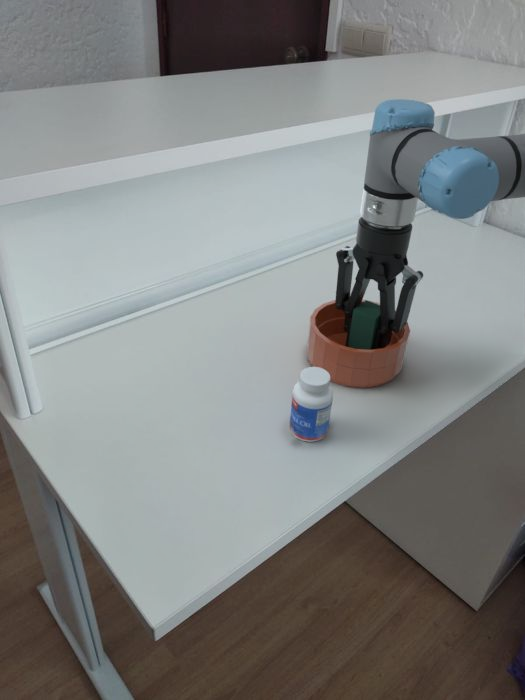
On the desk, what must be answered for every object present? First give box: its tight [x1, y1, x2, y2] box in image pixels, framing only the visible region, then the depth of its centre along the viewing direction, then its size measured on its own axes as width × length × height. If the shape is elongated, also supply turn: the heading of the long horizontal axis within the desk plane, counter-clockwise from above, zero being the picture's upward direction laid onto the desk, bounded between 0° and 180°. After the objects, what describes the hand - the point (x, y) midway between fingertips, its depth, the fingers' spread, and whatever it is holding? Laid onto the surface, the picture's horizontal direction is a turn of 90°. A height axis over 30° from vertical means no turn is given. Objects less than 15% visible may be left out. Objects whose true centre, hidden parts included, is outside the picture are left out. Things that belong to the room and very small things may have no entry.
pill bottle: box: [289, 366, 334, 443], centre depth 78 cm, size 6×5×10 cm
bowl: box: [306, 298, 411, 389], centre depth 94 cm, size 16×16×7 cm
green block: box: [348, 299, 381, 350], centre depth 92 cm, size 4×4×9 cm
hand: (363, 354), depth 95 cm, fingers closed on green block, 4 cm apart
